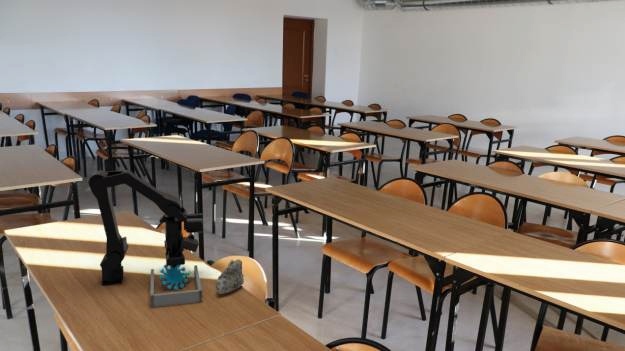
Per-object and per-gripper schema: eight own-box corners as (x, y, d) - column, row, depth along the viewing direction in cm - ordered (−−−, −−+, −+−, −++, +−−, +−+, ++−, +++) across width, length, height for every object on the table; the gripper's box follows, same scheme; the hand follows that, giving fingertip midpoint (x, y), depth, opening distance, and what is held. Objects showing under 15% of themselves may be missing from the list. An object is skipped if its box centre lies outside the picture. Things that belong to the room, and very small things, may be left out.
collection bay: (150, 307, 148) (150, 296, 147) (151, 279, 166) (150, 269, 165) (202, 301, 153) (202, 290, 152) (197, 275, 171) (196, 265, 170)
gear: (162, 290, 156) (158, 262, 160) (157, 296, 160) (153, 268, 164) (193, 287, 162) (189, 260, 166) (188, 292, 166) (184, 266, 170)
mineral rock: (218, 298, 155) (218, 271, 153) (205, 285, 164) (205, 259, 161) (252, 289, 163) (252, 263, 160) (238, 277, 171) (238, 252, 169)
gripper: (199, 240, 159) (200, 282, 162) (194, 222, 176) (195, 260, 180) (165, 243, 155) (167, 286, 159) (163, 224, 172) (165, 263, 176)
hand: (174, 272), depth 168 cm, fingers closed
